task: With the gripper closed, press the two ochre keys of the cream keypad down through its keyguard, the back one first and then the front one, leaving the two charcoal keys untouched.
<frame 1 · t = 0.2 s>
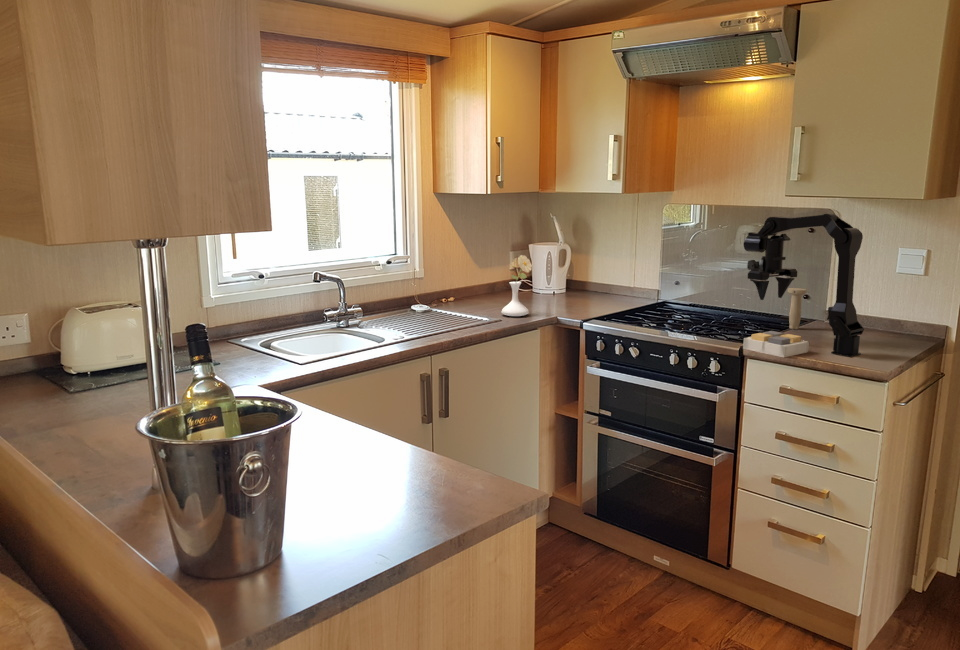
hand: (770, 298, 253), 14 cm above the worktop, fingers open, 9 cm apart
handle: (793, 329, 275), on the worktop
ochre key 2: (790, 340, 238), point 4 cm above the worktop, slide at 0.0 cm
charcoal key far: (772, 337, 243), point 4 cm above the worktop, slide at 0.0 cm
ochre key 1: (761, 339, 240), point 4 cm above the worktop, slide at 0.0 cm
keypad: (775, 350, 239), on the worktop
charcoal key near: (779, 342, 234), point 4 cm above the worktop, slide at 0.0 cm
flower in vase: (516, 316, 303), on the worktop
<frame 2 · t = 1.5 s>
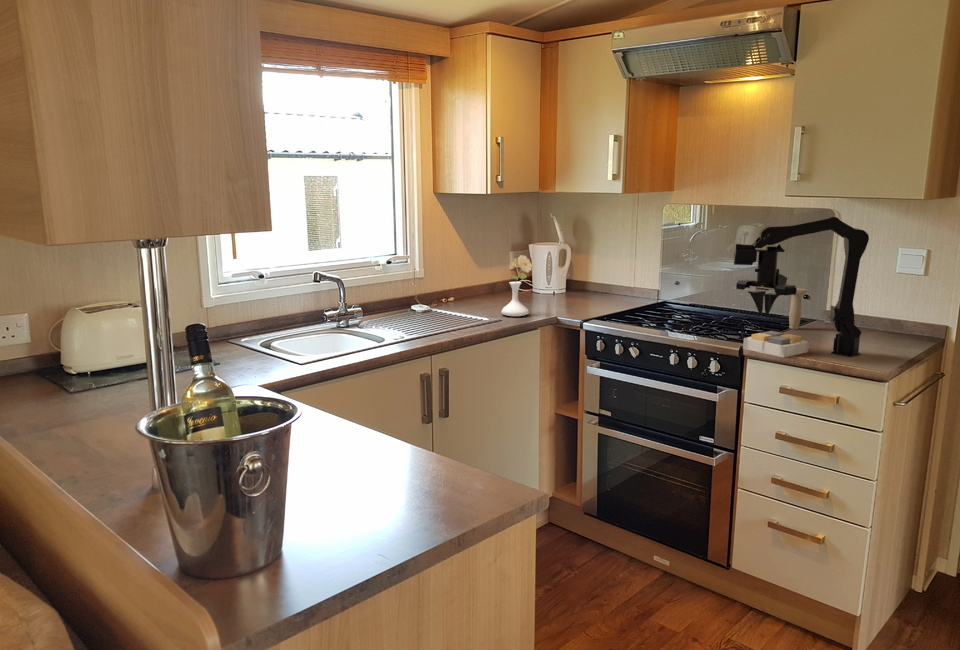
hand: (763, 313, 238), 12 cm above the worktop, fingers closed
nothing on the worktop moved.
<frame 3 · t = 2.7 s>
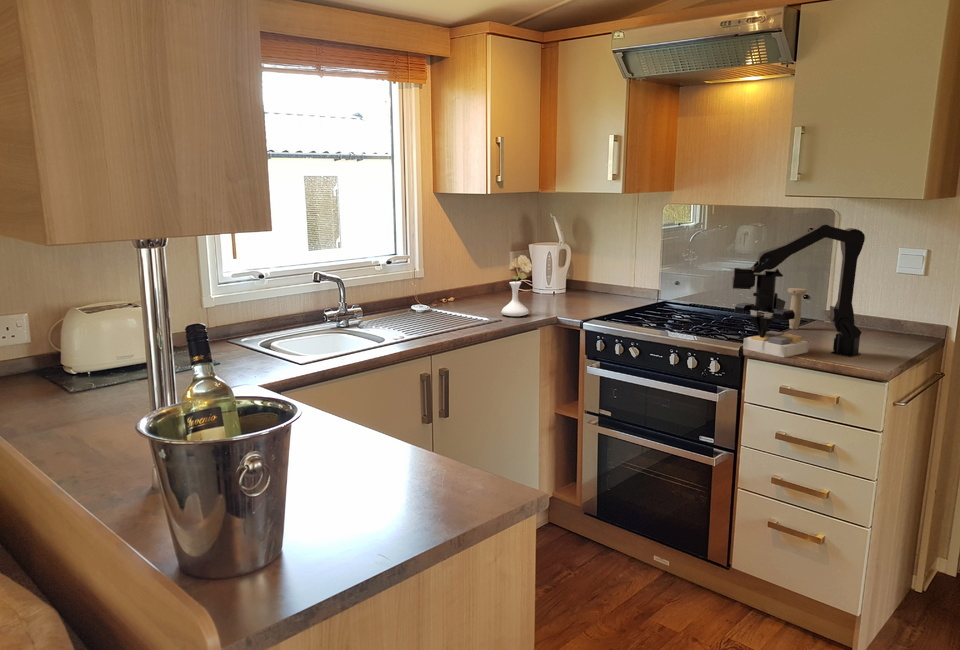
hand: (762, 337, 239), 4 cm above the worktop, fingers closed, pressing on ochre key 1
ochre key 1: (761, 341, 240), point 3 cm above the worktop, slide at 0.8 cm, touching gripper
everything else where it was.
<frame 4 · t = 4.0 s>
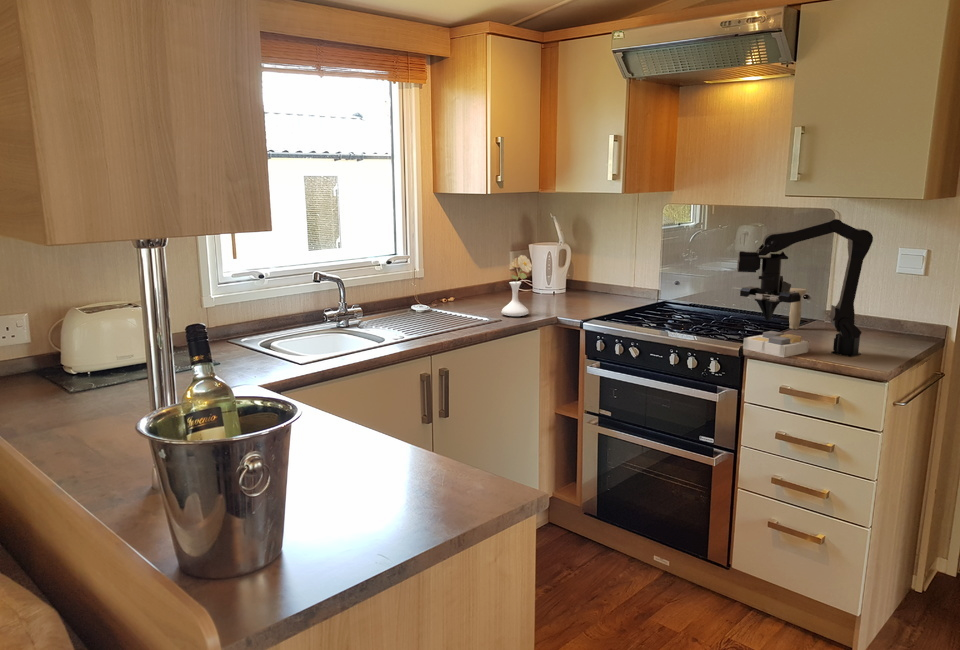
hand: (767, 320, 238), 10 cm above the worktop, fingers closed
ochre key 1: (761, 343, 240), point 2 cm above the worktop, slide at 1.5 cm
everything else where it was.
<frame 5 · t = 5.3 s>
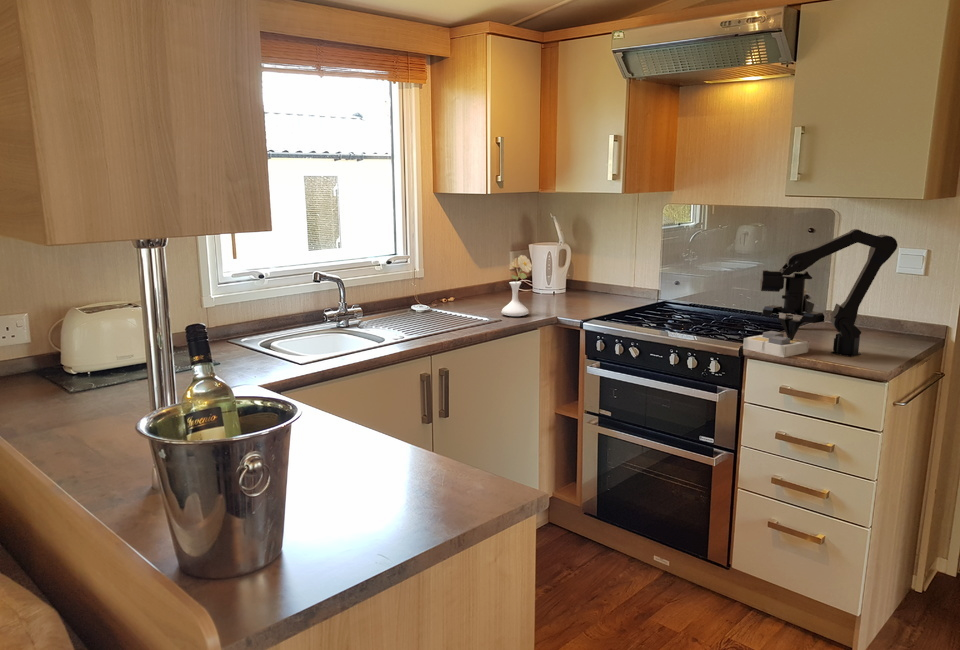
hand: (790, 340, 238), 4 cm above the worktop, fingers closed, pressing on ochre key 2
ochre key 2: (790, 344, 238), point 2 cm above the worktop, slide at 1.4 cm, touching gripper
everything else where it was.
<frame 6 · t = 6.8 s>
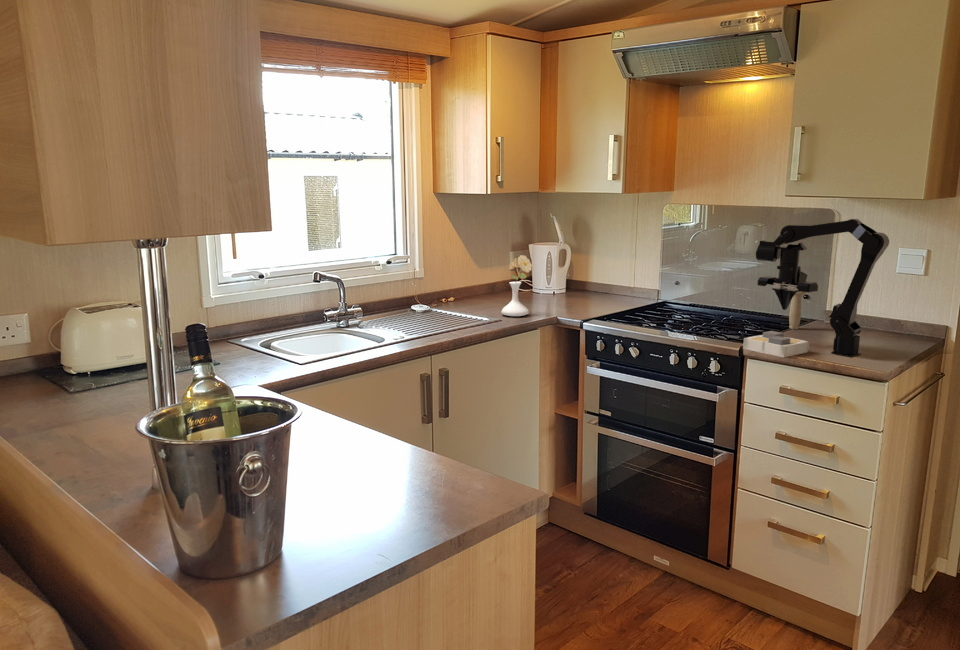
hand: (784, 309, 245), 12 cm above the worktop, fingers closed
ochre key 2: (790, 345, 238), point 2 cm above the worktop, slide at 1.5 cm
everything else where it was.
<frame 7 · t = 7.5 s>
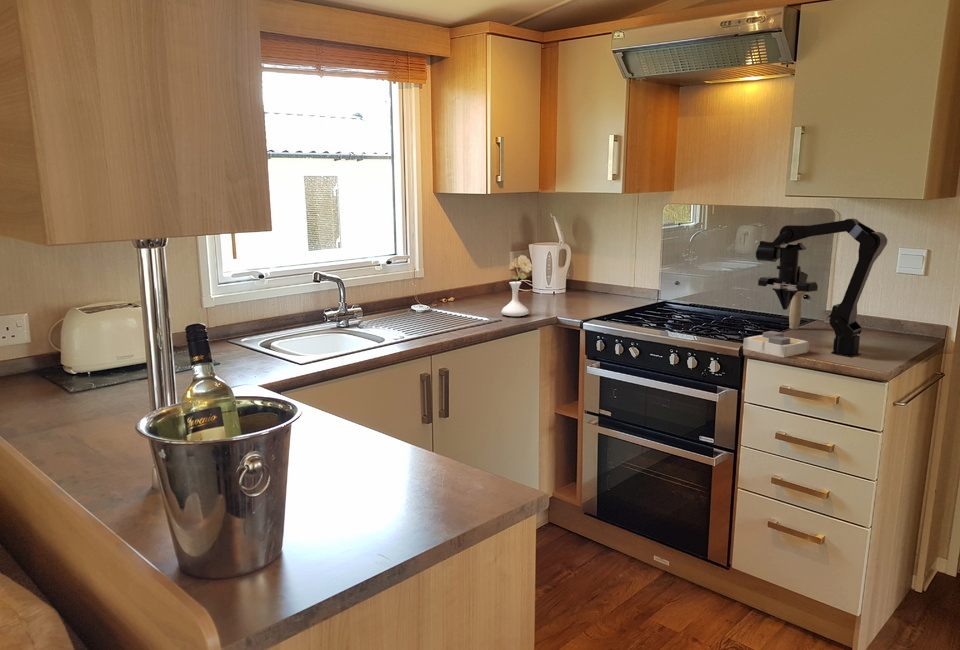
hand: (785, 309, 246), 12 cm above the worktop, fingers closed
nothing on the worktop moved.
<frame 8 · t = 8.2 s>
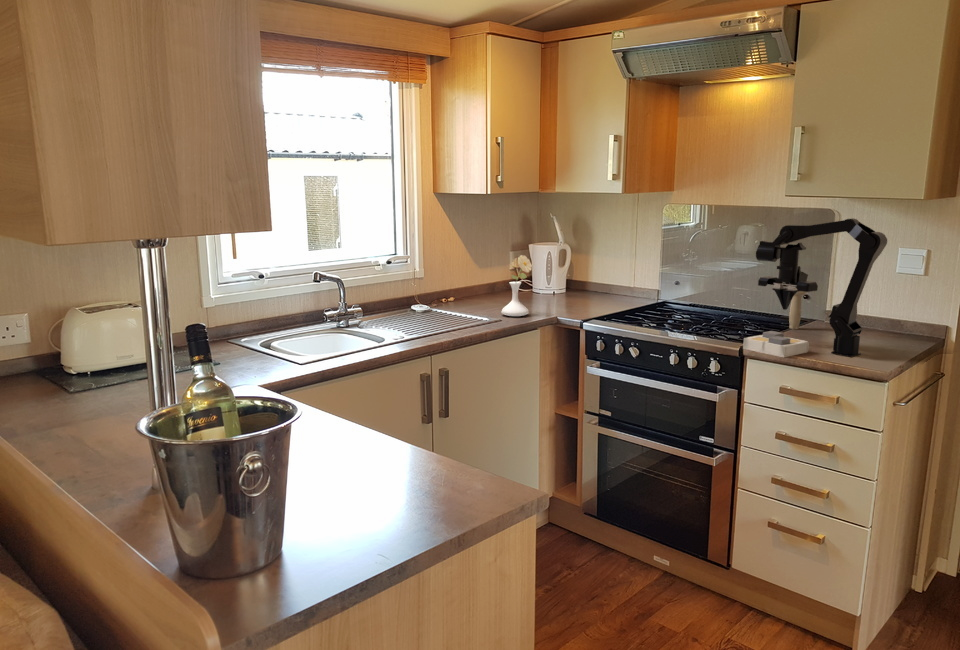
hand: (785, 309, 246), 12 cm above the worktop, fingers closed
nothing on the worktop moved.
at the end: ochre key 1 slide at 1.5 cm; ochre key 2 slide at 1.5 cm; charcoal key near slide at 0.0 cm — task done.
